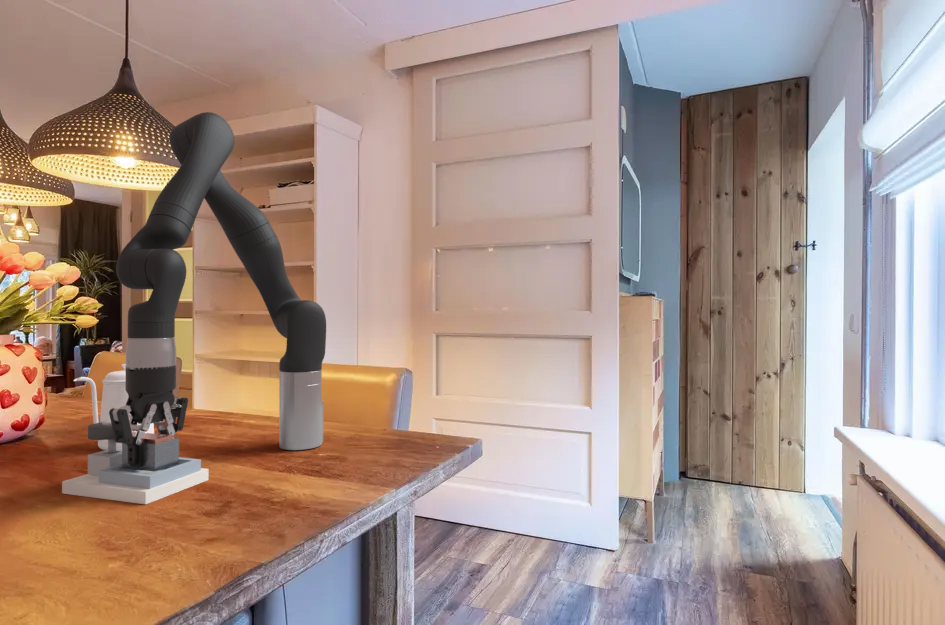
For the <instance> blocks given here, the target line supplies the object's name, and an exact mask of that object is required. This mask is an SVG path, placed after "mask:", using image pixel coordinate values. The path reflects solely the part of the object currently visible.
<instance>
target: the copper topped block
mask: <svg viewBox="0 0 945 625" xmlns="http://www.w3.org/2000/svg"><path fill="white" fill-rule="evenodd" d="M135 437H136V436H135ZM142 444H143V466H141V467H131V466H130V464H129V463H128V446H127V444H125V443H122V468H125V469H135V470H145V471H154V472H155V471H158V470H161V469H164V468H167V467H170V466H173V465H176V464H179V457H180V437H175V436H173V435H165V434H159V433H154V434H152V433H146V434H145V435H144V439H143V442H142Z"/></svg>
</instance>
